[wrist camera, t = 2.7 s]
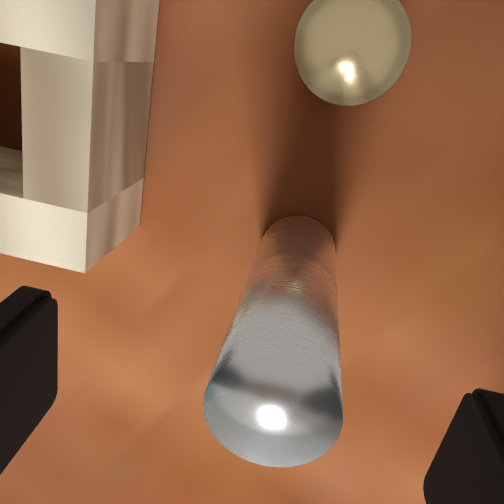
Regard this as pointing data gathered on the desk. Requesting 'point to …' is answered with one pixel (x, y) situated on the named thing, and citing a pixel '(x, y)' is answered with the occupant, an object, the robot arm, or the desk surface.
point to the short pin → (352, 48)
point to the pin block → (77, 127)
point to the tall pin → (282, 352)
